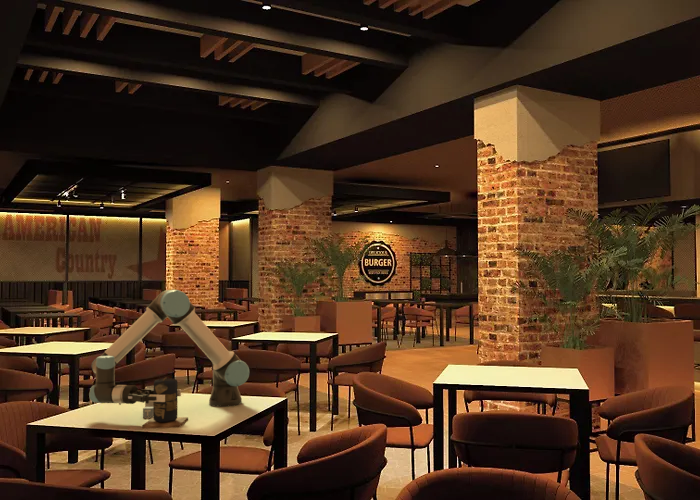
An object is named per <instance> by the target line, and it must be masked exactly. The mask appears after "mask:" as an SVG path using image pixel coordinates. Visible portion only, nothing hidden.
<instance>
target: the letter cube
mask: <svg viewBox="0 0 700 500" xmlns="http://www.w3.org/2000/svg"><path fill="white" fill-rule="evenodd" d="M142 418H143V419H144V418H145V419H146V418H147V419H148V418H150V419H151V418H154V409H153V407H145V406H144V407H143V408H142Z"/></svg>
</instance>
